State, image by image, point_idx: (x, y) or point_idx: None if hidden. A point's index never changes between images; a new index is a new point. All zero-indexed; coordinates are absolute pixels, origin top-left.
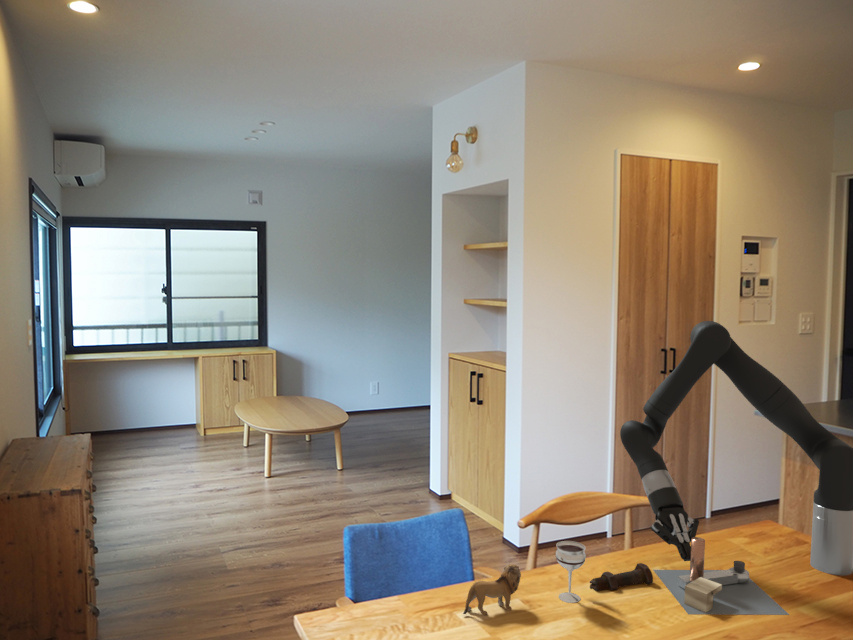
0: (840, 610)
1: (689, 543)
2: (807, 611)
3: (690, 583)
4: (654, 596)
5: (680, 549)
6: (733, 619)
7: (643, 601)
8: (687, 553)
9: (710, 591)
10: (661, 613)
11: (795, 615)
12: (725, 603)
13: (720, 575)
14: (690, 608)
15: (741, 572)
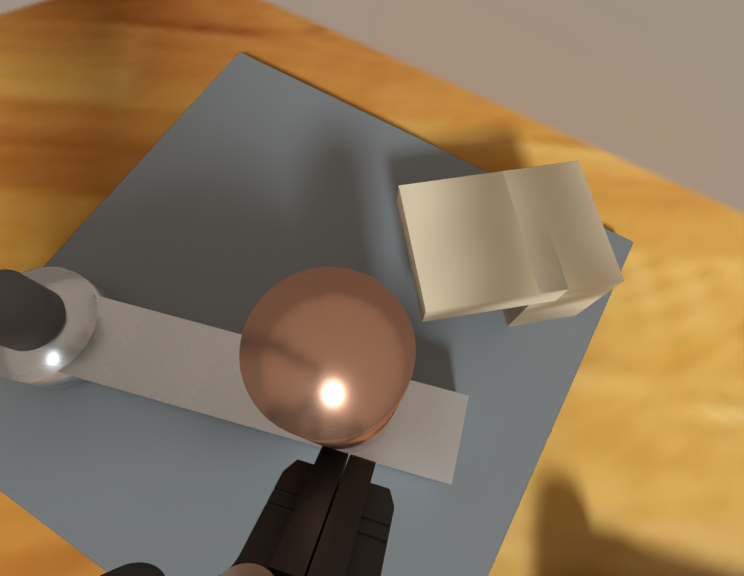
0: (5, 24)
1: (234, 565)
2: (113, 71)
3: (566, 283)
4: (613, 502)
5: (381, 570)
6: None
7: (714, 492)
8: (360, 486)
9: (533, 168)
10: (701, 350)
11: (186, 76)
12: (385, 219)
13: (194, 343)
14: None
15: None
